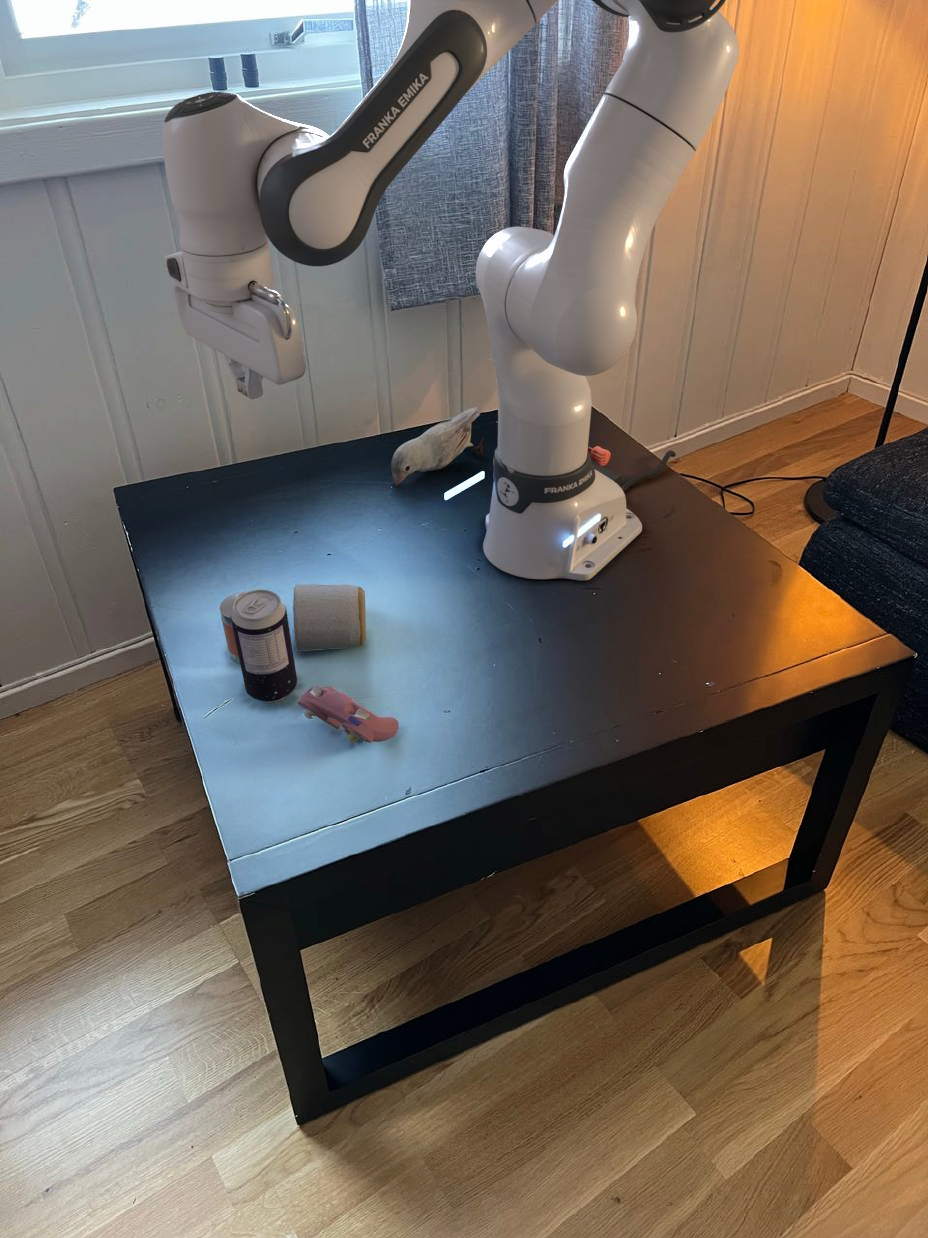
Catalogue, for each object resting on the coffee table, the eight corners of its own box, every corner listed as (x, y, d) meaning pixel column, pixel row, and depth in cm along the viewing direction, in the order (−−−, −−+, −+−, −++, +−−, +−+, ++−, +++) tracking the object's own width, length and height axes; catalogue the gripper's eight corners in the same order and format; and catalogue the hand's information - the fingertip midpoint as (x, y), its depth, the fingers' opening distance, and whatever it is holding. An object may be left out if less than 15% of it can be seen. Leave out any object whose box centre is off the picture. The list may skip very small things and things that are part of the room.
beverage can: (308, 683, 103) (296, 597, 96) (275, 714, 100) (260, 627, 92) (269, 666, 106) (253, 581, 98) (235, 695, 102) (216, 609, 94)
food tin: (256, 634, 110) (247, 586, 106) (278, 653, 107) (270, 605, 103) (221, 651, 108) (211, 604, 103) (243, 672, 105) (233, 624, 101)
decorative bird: (383, 479, 138) (380, 433, 133) (466, 445, 146) (466, 400, 141) (405, 493, 135) (402, 447, 130) (489, 458, 143) (489, 413, 138)
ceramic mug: (369, 659, 106) (364, 605, 102) (297, 664, 106) (289, 611, 101) (366, 603, 115) (362, 552, 110) (299, 608, 114) (292, 556, 109)
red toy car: (310, 726, 100) (283, 701, 94) (333, 690, 102) (307, 663, 96) (383, 764, 96) (359, 740, 90) (405, 726, 97) (383, 700, 92)
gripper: (312, 288, 93) (326, 415, 102) (205, 242, 105) (227, 359, 113) (258, 305, 90) (278, 434, 98) (154, 255, 101) (180, 375, 110)
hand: (250, 394), depth 106 cm, fingers closed
